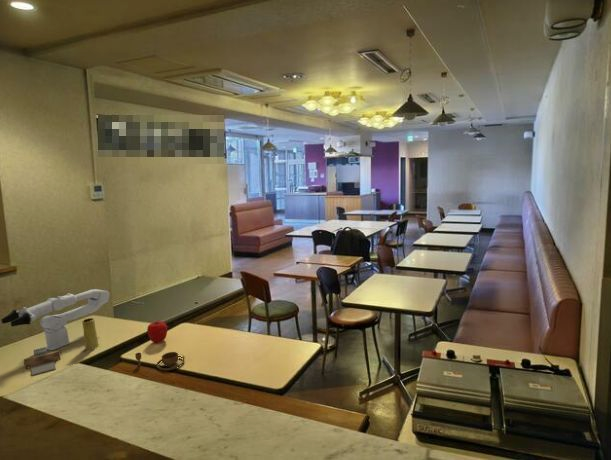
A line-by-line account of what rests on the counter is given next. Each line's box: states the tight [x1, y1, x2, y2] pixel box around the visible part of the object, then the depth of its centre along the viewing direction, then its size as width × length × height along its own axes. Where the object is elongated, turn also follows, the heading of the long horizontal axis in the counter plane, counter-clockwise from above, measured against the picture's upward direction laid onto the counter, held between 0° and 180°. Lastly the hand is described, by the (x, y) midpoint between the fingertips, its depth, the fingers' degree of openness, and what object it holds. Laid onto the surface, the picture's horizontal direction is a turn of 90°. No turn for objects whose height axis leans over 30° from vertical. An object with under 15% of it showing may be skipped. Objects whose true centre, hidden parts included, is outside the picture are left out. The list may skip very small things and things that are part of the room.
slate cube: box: [33, 346, 48, 357], centre depth 198 cm, size 5×5×5 cm
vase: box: [81, 317, 100, 350], centre depth 209 cm, size 6×6×14 cm
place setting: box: [134, 351, 185, 372], centre depth 189 cm, size 18×20×6 cm
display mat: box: [31, 361, 57, 377], centre depth 190 cm, size 9×9×1 cm
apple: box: [147, 320, 168, 344], centre depth 211 cm, size 10×10×11 cm
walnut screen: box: [23, 350, 61, 369], centre depth 195 cm, size 14×2×4 cm, turn 123°
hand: (6, 322), depth 193 cm, fingers open, 7 cm apart
